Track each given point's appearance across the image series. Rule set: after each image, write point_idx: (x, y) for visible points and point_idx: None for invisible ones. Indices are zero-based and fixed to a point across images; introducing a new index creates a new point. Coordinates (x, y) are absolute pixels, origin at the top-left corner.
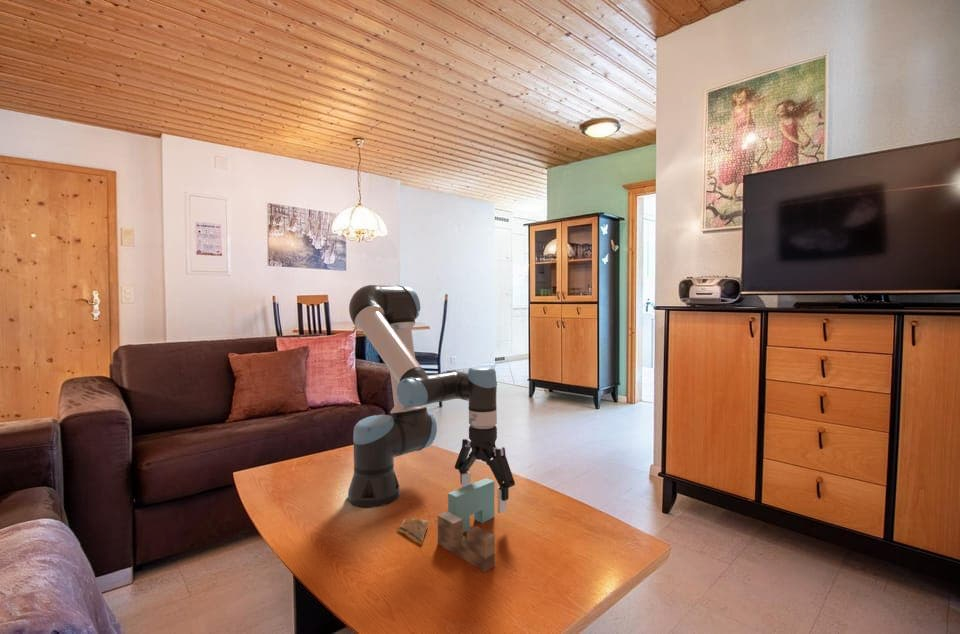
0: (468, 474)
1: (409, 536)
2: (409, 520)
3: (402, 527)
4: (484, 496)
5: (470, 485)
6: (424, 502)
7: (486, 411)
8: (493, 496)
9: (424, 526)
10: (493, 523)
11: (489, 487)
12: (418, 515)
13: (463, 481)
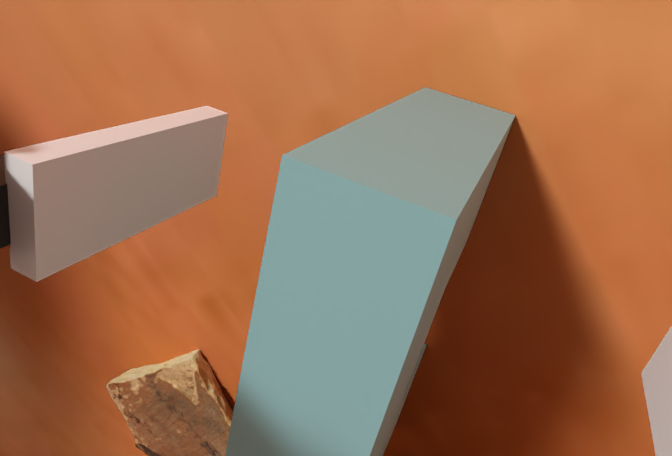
0: (52, 195)
1: None
2: (130, 397)
3: (150, 449)
4: (427, 321)
5: (251, 449)
6: (30, 141)
7: None
8: (485, 172)
9: (216, 423)
10: (549, 212)
11: (434, 288)
12: (111, 287)
13: (103, 249)
